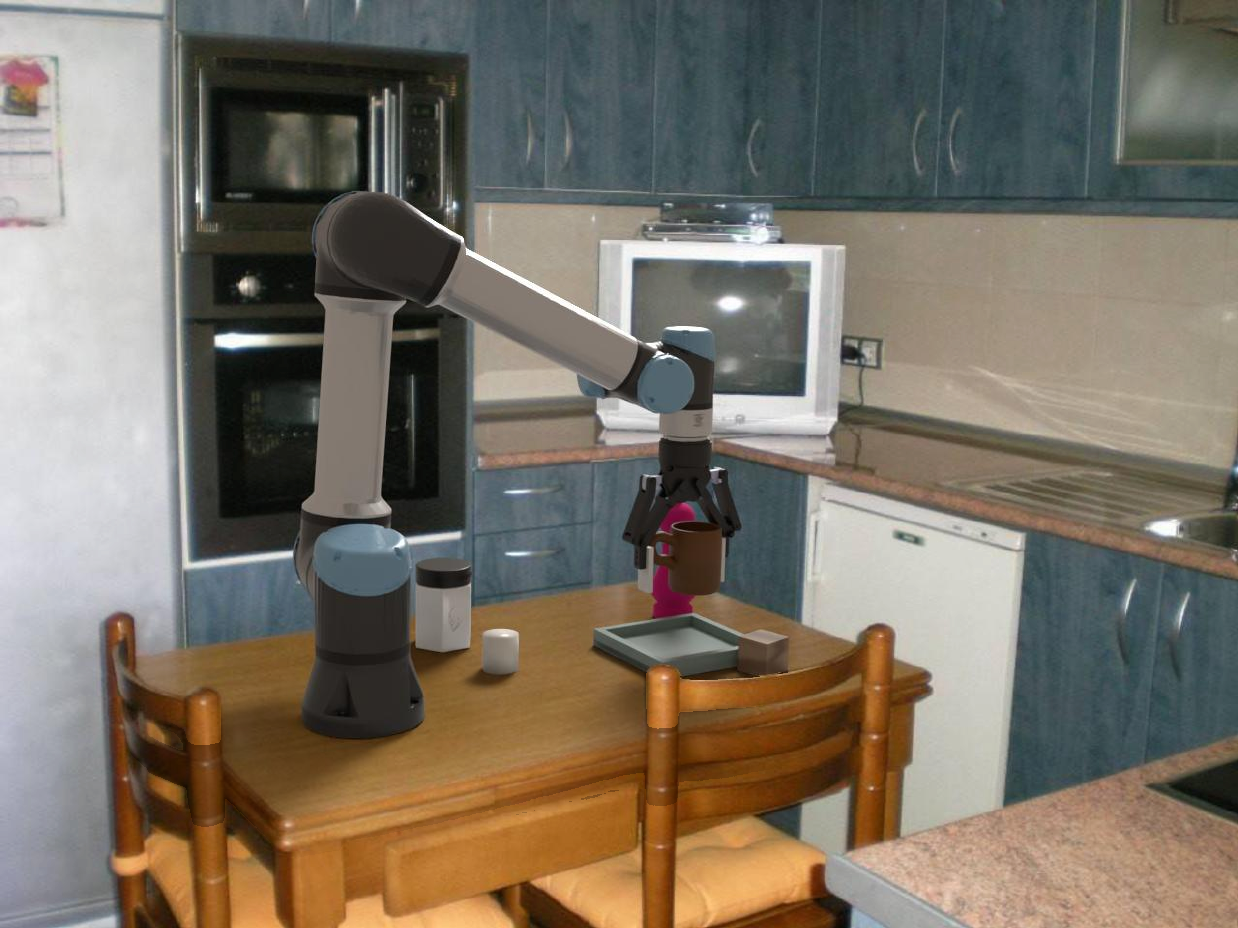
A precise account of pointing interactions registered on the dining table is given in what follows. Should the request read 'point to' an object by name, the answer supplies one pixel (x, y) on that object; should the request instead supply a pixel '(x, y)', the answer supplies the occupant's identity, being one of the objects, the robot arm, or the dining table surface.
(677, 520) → the pepper mill
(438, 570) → the jar
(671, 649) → the tray
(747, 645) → the block
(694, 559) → the mug
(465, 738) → the dining table surface
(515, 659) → the white rounded cylinder
